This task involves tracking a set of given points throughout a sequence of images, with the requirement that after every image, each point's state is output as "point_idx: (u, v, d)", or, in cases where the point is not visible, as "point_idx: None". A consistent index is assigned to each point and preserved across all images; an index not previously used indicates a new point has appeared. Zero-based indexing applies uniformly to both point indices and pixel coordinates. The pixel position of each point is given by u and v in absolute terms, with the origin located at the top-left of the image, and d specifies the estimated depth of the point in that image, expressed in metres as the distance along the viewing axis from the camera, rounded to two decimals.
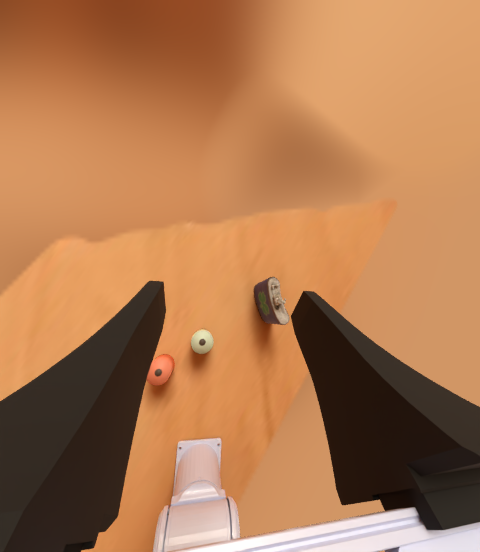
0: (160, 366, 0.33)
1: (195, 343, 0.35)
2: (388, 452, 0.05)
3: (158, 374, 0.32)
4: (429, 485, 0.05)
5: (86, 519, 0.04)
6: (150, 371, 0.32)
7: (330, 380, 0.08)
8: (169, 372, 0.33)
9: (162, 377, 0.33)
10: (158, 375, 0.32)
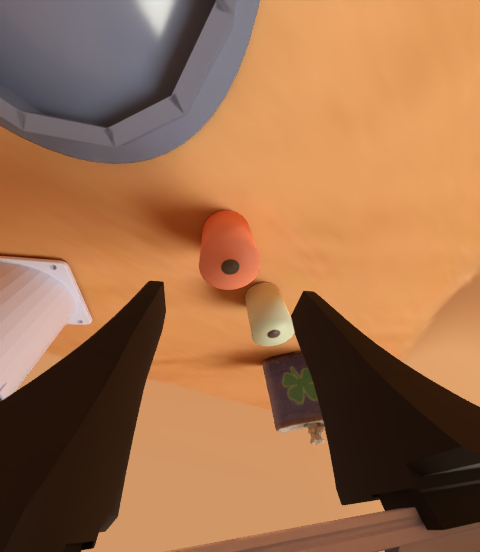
0: (244, 271, 0.13)
1: (274, 324, 0.17)
2: (388, 452, 0.05)
3: (227, 266, 0.12)
4: (429, 485, 0.05)
5: (86, 519, 0.04)
6: (236, 250, 0.12)
7: (330, 380, 0.08)
8: (226, 287, 0.14)
9: (217, 274, 0.13)
10: (223, 267, 0.12)
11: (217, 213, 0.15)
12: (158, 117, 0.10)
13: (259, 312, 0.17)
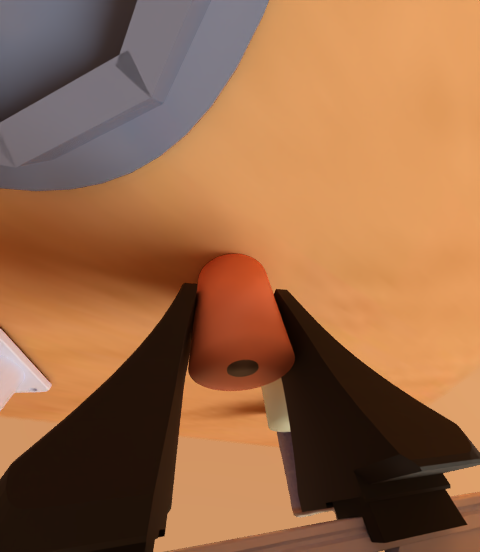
0: (265, 370, 0.08)
1: None
2: (339, 458, 0.05)
3: (237, 369, 0.07)
4: (376, 494, 0.04)
5: (164, 508, 0.04)
6: (255, 348, 0.06)
7: (295, 381, 0.08)
8: (234, 389, 0.08)
9: (221, 377, 0.07)
10: (230, 369, 0.07)
11: (220, 260, 0.10)
12: (96, 105, 0.05)
13: (278, 390, 0.12)
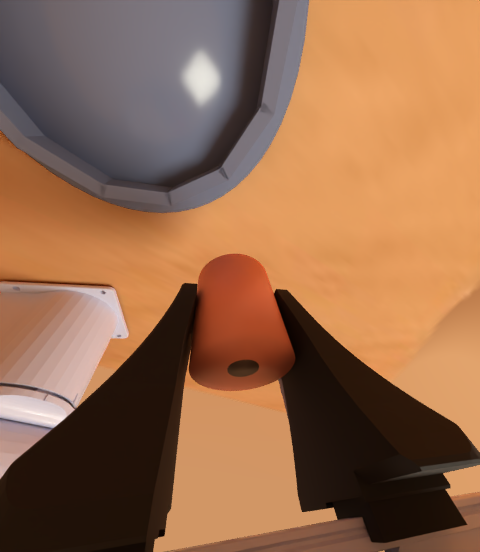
0: (266, 370, 0.08)
1: None
2: (339, 458, 0.05)
3: (237, 369, 0.07)
4: (375, 494, 0.04)
5: (164, 508, 0.04)
6: (255, 348, 0.07)
7: (295, 381, 0.08)
8: (235, 388, 0.08)
9: (221, 377, 0.08)
10: (231, 369, 0.07)
11: (220, 260, 0.10)
12: (208, 183, 0.12)
13: None
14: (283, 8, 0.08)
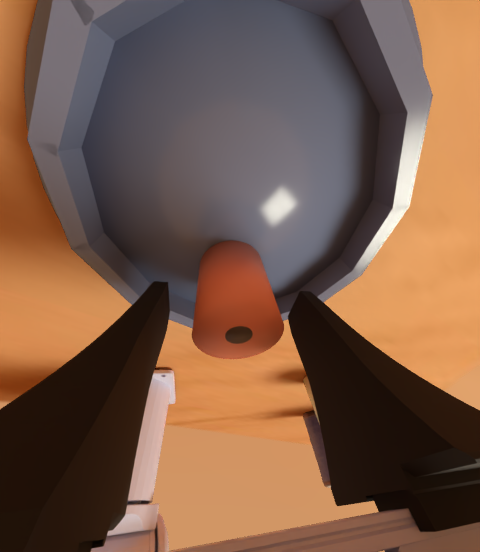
0: (259, 338, 0.09)
1: None
2: (382, 453, 0.05)
3: (234, 335, 0.08)
4: (423, 486, 0.05)
5: (97, 517, 0.04)
6: (248, 315, 0.08)
7: (326, 380, 0.08)
8: (233, 357, 0.09)
9: (220, 344, 0.09)
10: (228, 335, 0.08)
11: (218, 246, 0.11)
12: None
13: None
14: (390, 218, 0.10)
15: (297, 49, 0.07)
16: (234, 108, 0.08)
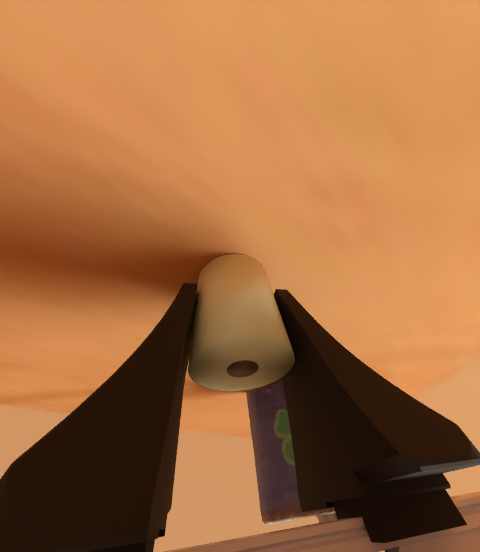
0: None
1: (231, 351, 0.06)
2: (339, 458, 0.05)
3: None
4: (375, 494, 0.04)
5: (164, 507, 0.04)
6: None
7: (295, 381, 0.08)
8: None
9: None
10: None
11: None
12: None
13: (199, 322, 0.07)
14: None
15: None
16: None
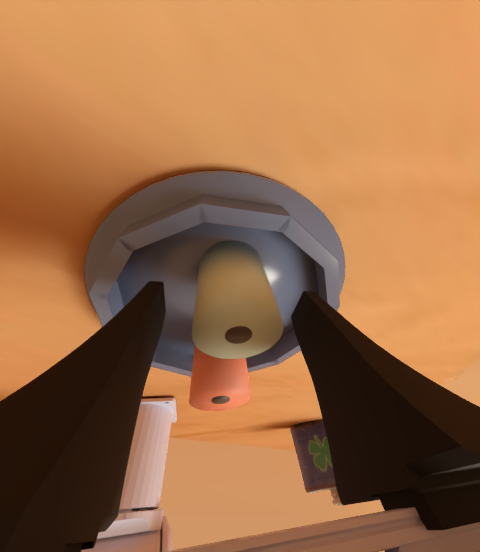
0: (234, 400, 0.13)
1: (228, 316, 0.08)
2: (388, 452, 0.05)
3: (217, 400, 0.12)
4: (429, 485, 0.05)
5: (86, 519, 0.04)
6: (225, 390, 0.12)
7: (330, 380, 0.08)
8: (218, 409, 0.14)
9: (208, 404, 0.13)
10: (213, 400, 0.12)
11: None
12: (264, 366, 0.18)
13: (200, 296, 0.08)
14: None
15: (254, 232, 0.11)
16: None
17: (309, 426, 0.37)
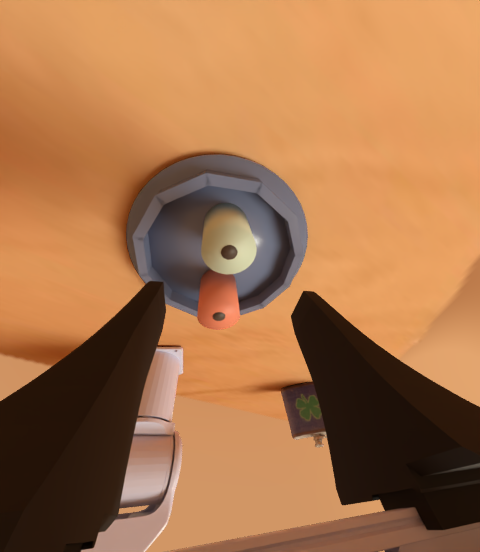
0: (228, 318, 0.18)
1: (222, 236, 0.13)
2: (388, 452, 0.05)
3: (216, 316, 0.18)
4: (429, 485, 0.05)
5: (86, 519, 0.04)
6: (222, 307, 0.17)
7: (330, 380, 0.08)
8: (217, 328, 0.19)
9: (210, 321, 0.18)
10: (213, 316, 0.18)
11: (210, 271, 0.20)
12: (253, 309, 0.23)
13: (206, 229, 0.14)
14: (295, 259, 0.19)
15: (241, 197, 0.16)
16: None
17: (297, 387, 0.42)
